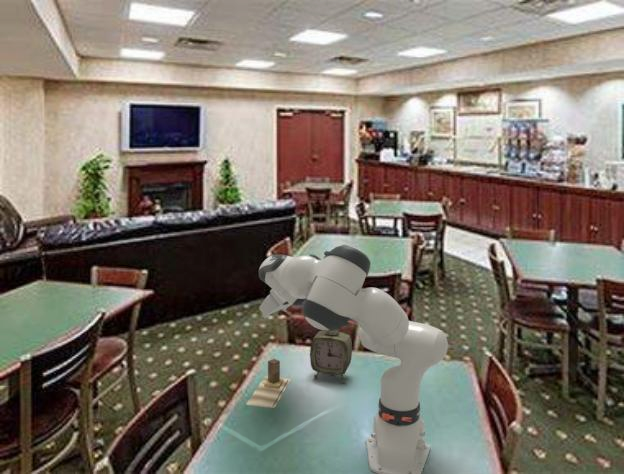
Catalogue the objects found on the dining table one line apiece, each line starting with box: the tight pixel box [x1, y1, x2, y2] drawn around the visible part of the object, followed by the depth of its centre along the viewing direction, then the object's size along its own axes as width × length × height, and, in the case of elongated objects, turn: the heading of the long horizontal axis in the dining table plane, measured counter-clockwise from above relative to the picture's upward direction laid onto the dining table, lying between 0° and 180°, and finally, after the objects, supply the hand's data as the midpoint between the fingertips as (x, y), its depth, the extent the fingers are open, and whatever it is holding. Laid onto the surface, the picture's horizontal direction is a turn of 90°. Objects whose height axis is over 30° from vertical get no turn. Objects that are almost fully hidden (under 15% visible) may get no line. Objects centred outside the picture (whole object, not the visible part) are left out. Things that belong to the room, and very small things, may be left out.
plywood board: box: [245, 375, 292, 409], centre depth 185 cm, size 22×10×2 cm, turn 168°
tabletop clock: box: [309, 330, 353, 384], centre depth 197 cm, size 14×9×25 cm, turn 73°
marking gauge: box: [264, 358, 284, 388], centre depth 190 cm, size 6×6×9 cm
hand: (273, 312), depth 186 cm, fingers open, 8 cm apart
